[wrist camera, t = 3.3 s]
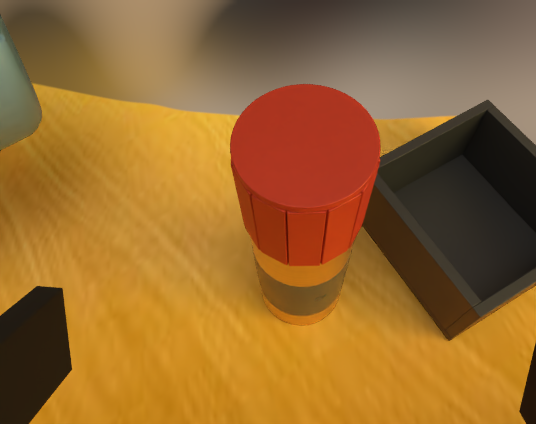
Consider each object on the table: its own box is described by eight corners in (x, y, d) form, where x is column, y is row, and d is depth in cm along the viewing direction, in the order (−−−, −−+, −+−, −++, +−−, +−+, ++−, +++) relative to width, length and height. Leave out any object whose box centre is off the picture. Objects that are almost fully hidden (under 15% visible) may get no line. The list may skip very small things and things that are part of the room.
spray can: (247, 273, 41) (222, 182, 27) (312, 237, 42) (321, 132, 28) (286, 341, 38) (281, 277, 24) (355, 300, 39) (387, 217, 26)
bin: (350, 210, 43) (360, 167, 37) (460, 149, 46) (488, 99, 39) (448, 341, 38) (480, 317, 31) (568, 264, 40) (621, 227, 33)
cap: (224, 194, 29) (204, 121, 22) (320, 145, 30) (326, 63, 24) (282, 288, 26) (277, 235, 19) (385, 229, 27) (412, 161, 21)
